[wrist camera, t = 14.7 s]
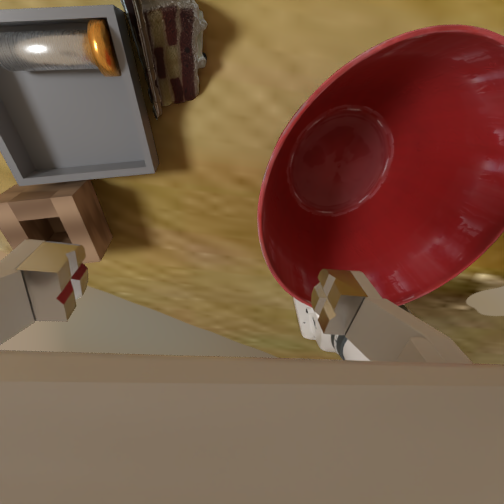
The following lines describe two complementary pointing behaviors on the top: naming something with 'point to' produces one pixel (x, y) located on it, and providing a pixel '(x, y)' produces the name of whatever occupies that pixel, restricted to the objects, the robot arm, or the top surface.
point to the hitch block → (56, 216)
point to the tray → (74, 108)
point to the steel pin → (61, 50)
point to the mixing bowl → (392, 167)
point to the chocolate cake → (168, 47)
